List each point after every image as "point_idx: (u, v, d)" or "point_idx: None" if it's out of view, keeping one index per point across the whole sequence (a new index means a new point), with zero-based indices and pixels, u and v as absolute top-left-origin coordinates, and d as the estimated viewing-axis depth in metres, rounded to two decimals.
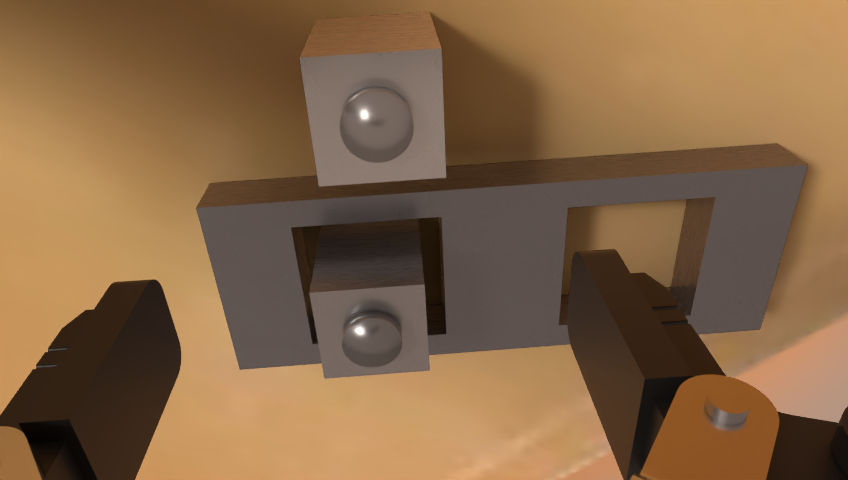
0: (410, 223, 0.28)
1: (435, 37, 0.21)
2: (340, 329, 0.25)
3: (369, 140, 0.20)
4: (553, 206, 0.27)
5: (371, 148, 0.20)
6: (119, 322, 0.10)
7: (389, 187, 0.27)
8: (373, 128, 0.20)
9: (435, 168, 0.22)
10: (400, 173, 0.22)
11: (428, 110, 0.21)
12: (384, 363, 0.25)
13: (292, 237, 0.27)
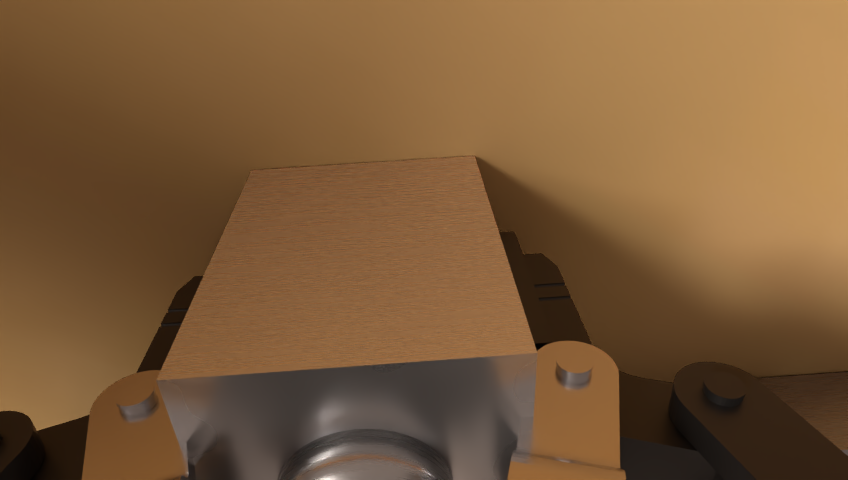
0: None
1: (508, 280, 0.09)
2: None
3: None
4: None
5: None
6: None
7: None
8: None
9: None
10: None
11: (492, 467, 0.08)
12: None
13: None
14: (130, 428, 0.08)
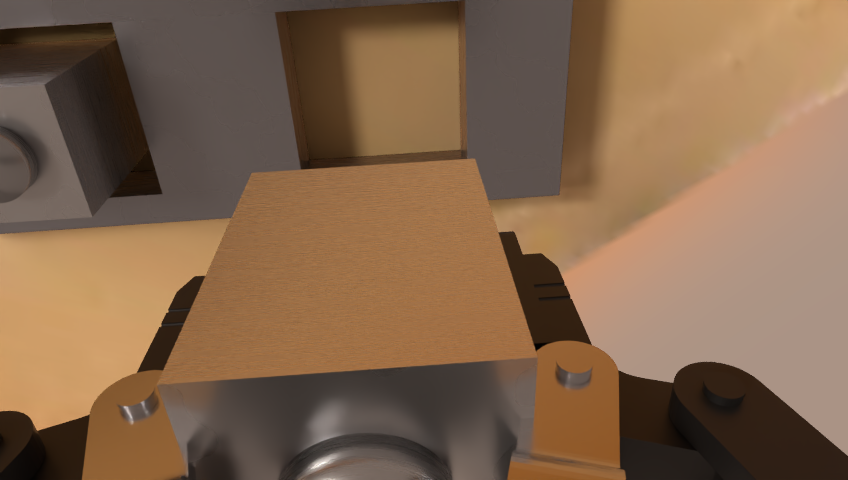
0: (97, 45, 0.23)
1: (508, 283, 0.09)
2: None
3: None
4: (255, 9, 0.21)
5: None
6: None
7: None
8: None
9: None
10: None
11: (493, 472, 0.08)
12: (11, 197, 0.19)
13: None
14: (131, 428, 0.08)
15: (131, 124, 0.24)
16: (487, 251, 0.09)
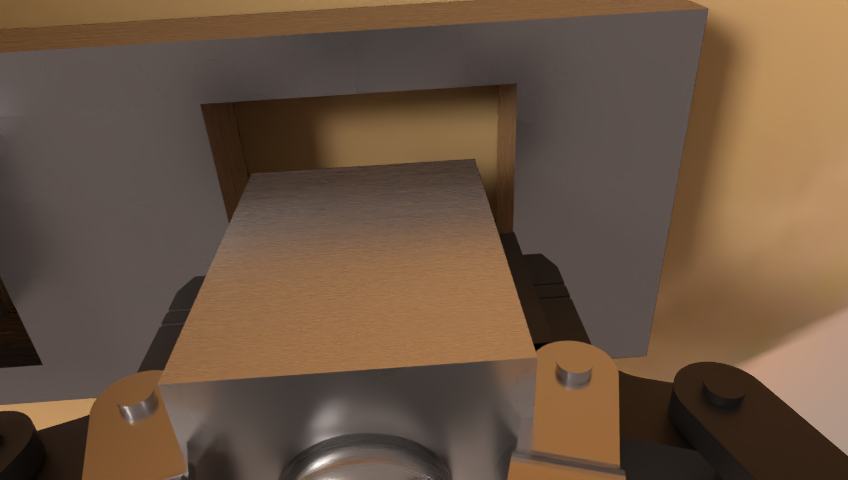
0: None
1: (508, 284, 0.09)
2: None
3: None
4: (166, 100, 0.13)
5: None
6: None
7: None
8: None
9: None
10: None
11: (493, 472, 0.08)
12: None
13: None
14: (131, 428, 0.08)
15: None
16: (487, 251, 0.09)
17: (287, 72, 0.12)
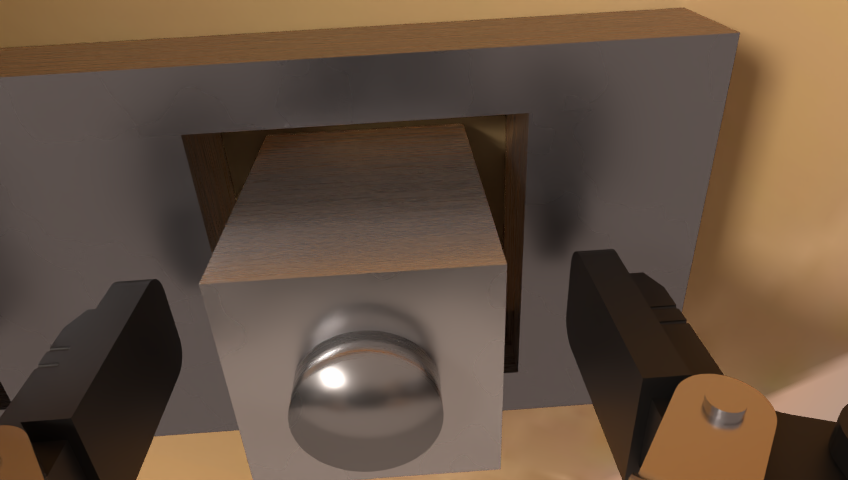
0: None
1: (486, 214, 0.10)
2: None
3: (351, 438, 0.10)
4: (144, 131, 0.11)
5: (355, 450, 0.10)
6: (121, 321, 0.10)
7: None
8: (359, 419, 0.10)
9: (480, 455, 0.11)
10: (411, 465, 0.11)
11: (473, 368, 0.10)
12: None
13: None
14: None
15: None
16: (470, 192, 0.11)
17: (276, 101, 0.11)
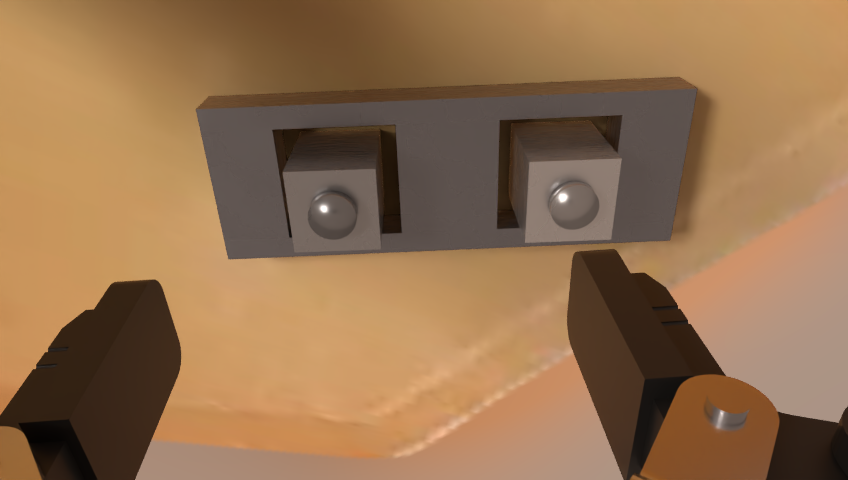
0: (372, 135, 0.34)
1: (610, 147, 0.31)
2: (307, 207, 0.31)
3: (568, 215, 0.31)
4: (487, 118, 0.33)
5: (569, 220, 0.31)
6: (119, 322, 0.10)
7: (353, 99, 0.33)
8: (572, 208, 0.31)
9: (604, 233, 0.32)
10: (580, 236, 0.32)
11: (606, 196, 0.31)
12: (342, 236, 0.31)
13: (273, 138, 0.33)
14: None
15: (382, 185, 0.36)
16: (602, 141, 0.32)
17: (535, 109, 0.32)
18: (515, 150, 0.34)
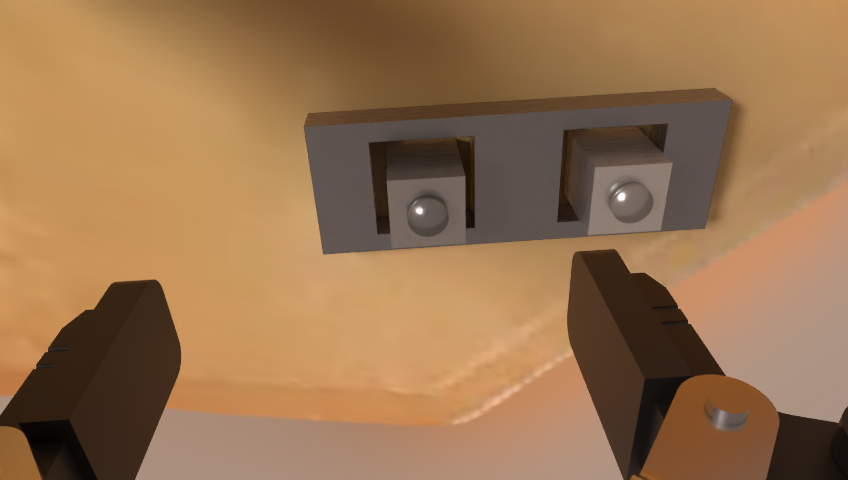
0: (451, 144, 0.40)
1: (660, 152, 0.37)
2: (405, 209, 0.36)
3: (627, 211, 0.36)
4: (553, 129, 0.38)
5: (627, 215, 0.36)
6: (119, 322, 0.10)
7: (438, 114, 0.38)
8: (631, 205, 0.36)
9: (655, 225, 0.38)
10: (634, 228, 0.38)
11: (658, 194, 0.37)
12: (435, 233, 0.36)
13: (368, 150, 0.38)
14: None
15: None
16: (652, 147, 0.38)
17: (594, 120, 0.38)
18: (574, 154, 0.39)
